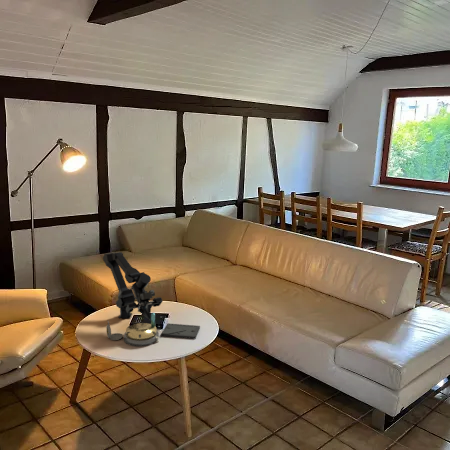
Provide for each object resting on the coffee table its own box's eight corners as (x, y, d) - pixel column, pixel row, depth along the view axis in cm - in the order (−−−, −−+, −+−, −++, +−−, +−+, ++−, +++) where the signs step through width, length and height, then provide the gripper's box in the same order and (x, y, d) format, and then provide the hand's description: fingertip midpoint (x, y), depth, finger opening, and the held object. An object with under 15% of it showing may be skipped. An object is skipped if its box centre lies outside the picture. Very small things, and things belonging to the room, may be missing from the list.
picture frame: (160, 337, 229) (195, 340, 227) (160, 333, 229) (195, 336, 227) (167, 326, 242) (200, 329, 240) (167, 322, 242) (200, 325, 240)
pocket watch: (125, 337, 227) (125, 318, 225) (113, 343, 220) (113, 324, 218) (113, 333, 231) (113, 314, 229) (101, 339, 224) (100, 320, 222)
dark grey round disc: (128, 331, 234) (128, 326, 234) (161, 331, 234) (161, 327, 234) (120, 346, 218) (120, 341, 217) (157, 346, 218) (157, 341, 217)
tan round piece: (129, 327, 233) (129, 309, 231) (158, 327, 233) (158, 310, 231) (123, 340, 218) (122, 322, 216) (154, 341, 218) (153, 322, 216)
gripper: (127, 288, 226) (137, 316, 219) (160, 282, 237) (171, 308, 230) (121, 298, 234) (130, 326, 227) (154, 292, 244) (164, 318, 238)
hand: (149, 319), depth 230 cm, fingers closed
